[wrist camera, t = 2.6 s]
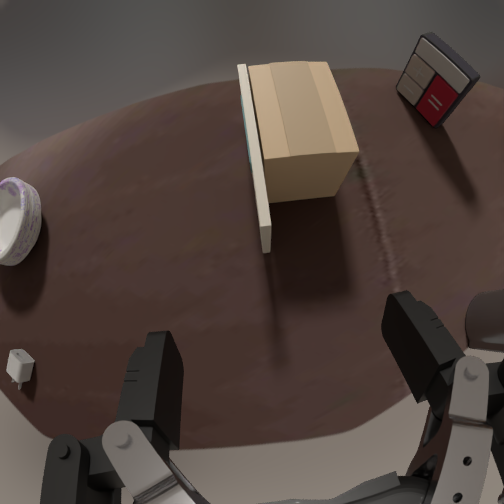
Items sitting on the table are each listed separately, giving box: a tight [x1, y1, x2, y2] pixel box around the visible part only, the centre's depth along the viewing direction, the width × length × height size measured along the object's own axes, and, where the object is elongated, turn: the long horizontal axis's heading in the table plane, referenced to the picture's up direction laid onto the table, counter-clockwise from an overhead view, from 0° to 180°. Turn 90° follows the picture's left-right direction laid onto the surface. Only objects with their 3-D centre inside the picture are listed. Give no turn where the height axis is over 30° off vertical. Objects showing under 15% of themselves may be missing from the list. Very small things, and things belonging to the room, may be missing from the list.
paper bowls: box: [0, 177, 41, 266], centre depth 39 cm, size 15×15×8 cm
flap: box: [237, 64, 271, 253], centre depth 35 cm, size 21×1×13 cm, turn 7°
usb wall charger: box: [6, 349, 34, 389], centre depth 36 cm, size 4×7×4 cm, turn 155°
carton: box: [248, 61, 359, 203], centre depth 36 cm, size 14×10×13 cm
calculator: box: [396, 32, 480, 128], centre depth 36 cm, size 11×4×15 cm, turn 35°
